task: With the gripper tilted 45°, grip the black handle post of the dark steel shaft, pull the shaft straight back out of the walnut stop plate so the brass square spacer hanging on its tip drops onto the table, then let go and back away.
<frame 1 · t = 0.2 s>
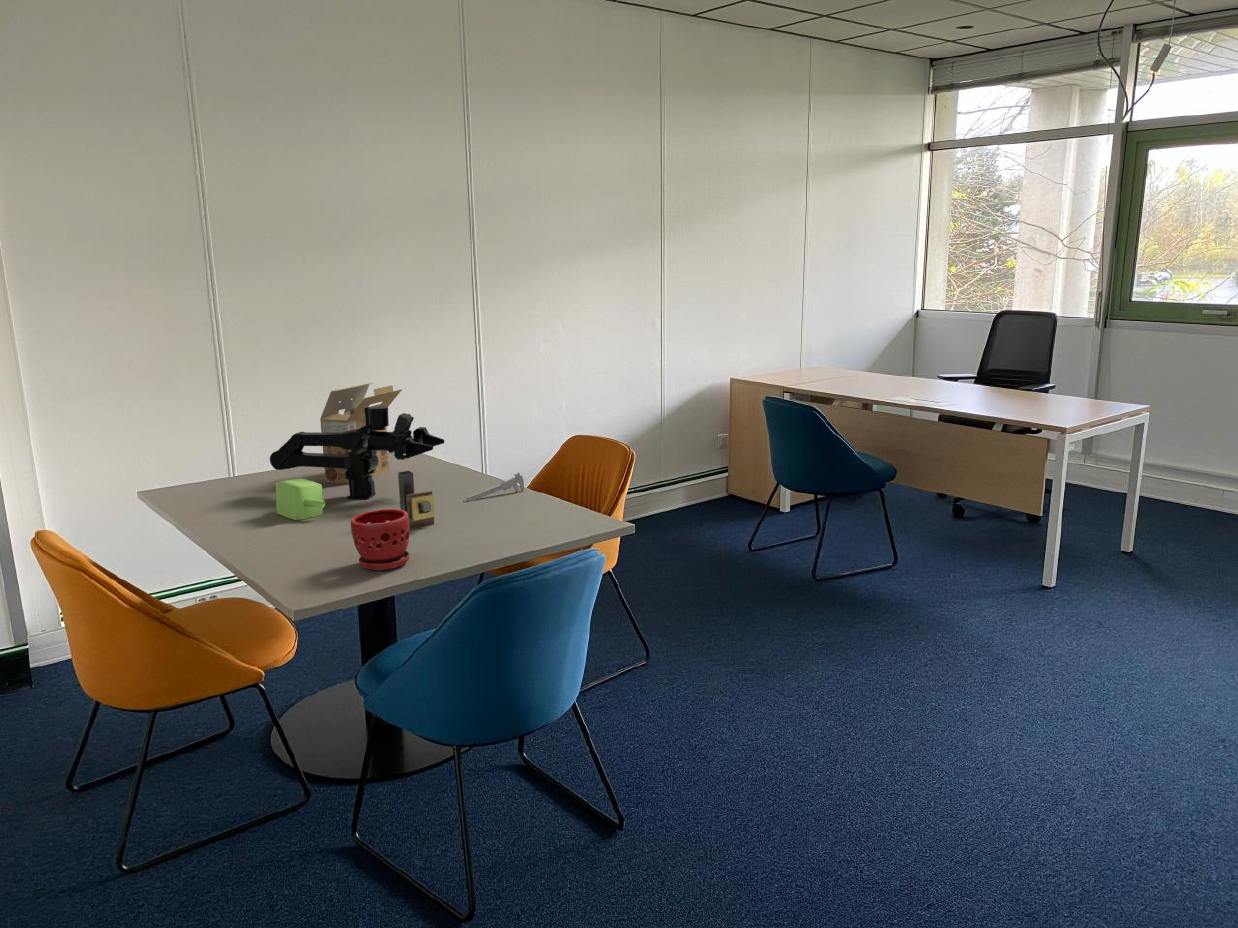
hand: (438, 444, 273), 17 cm above the table, tool horizontal, fingers open, 9 cm apart
stop plate: (408, 519, 255), on the table
gearbox: (304, 515, 262), on the table
caliper: (494, 497, 280), on the table
steel shaft: (415, 499, 250), point 7 cm above the table, slide at 0.0 cm, touching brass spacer
plant pot: (383, 565, 218), on the table
box: (364, 477, 308), on the table
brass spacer: (423, 518, 247), point 2 cm above the table, touching steel shaft
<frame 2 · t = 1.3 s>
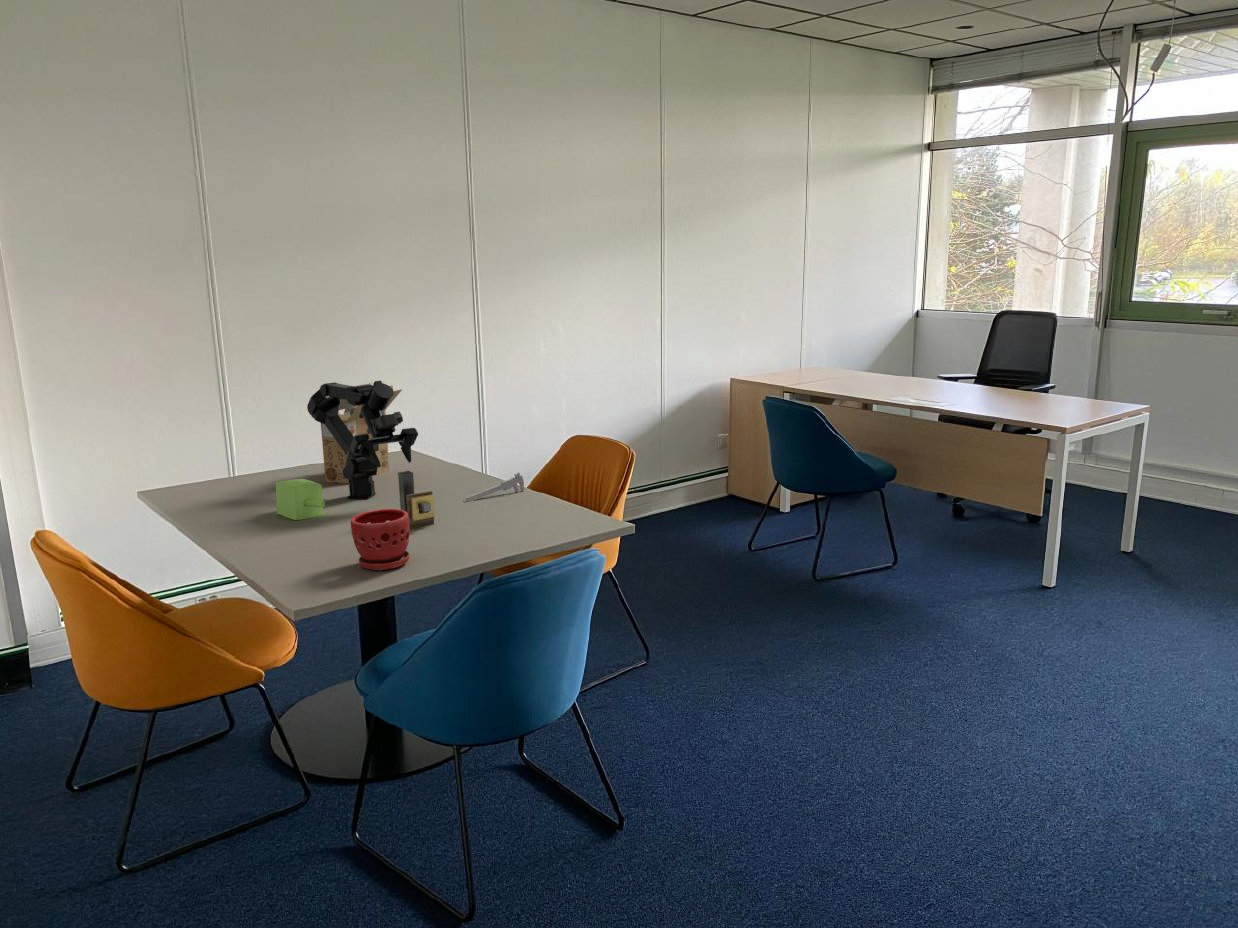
hand: (395, 464, 262), 14 cm above the table, tool tilted 45°, fingers open, 9 cm apart
nothing on the table moved.
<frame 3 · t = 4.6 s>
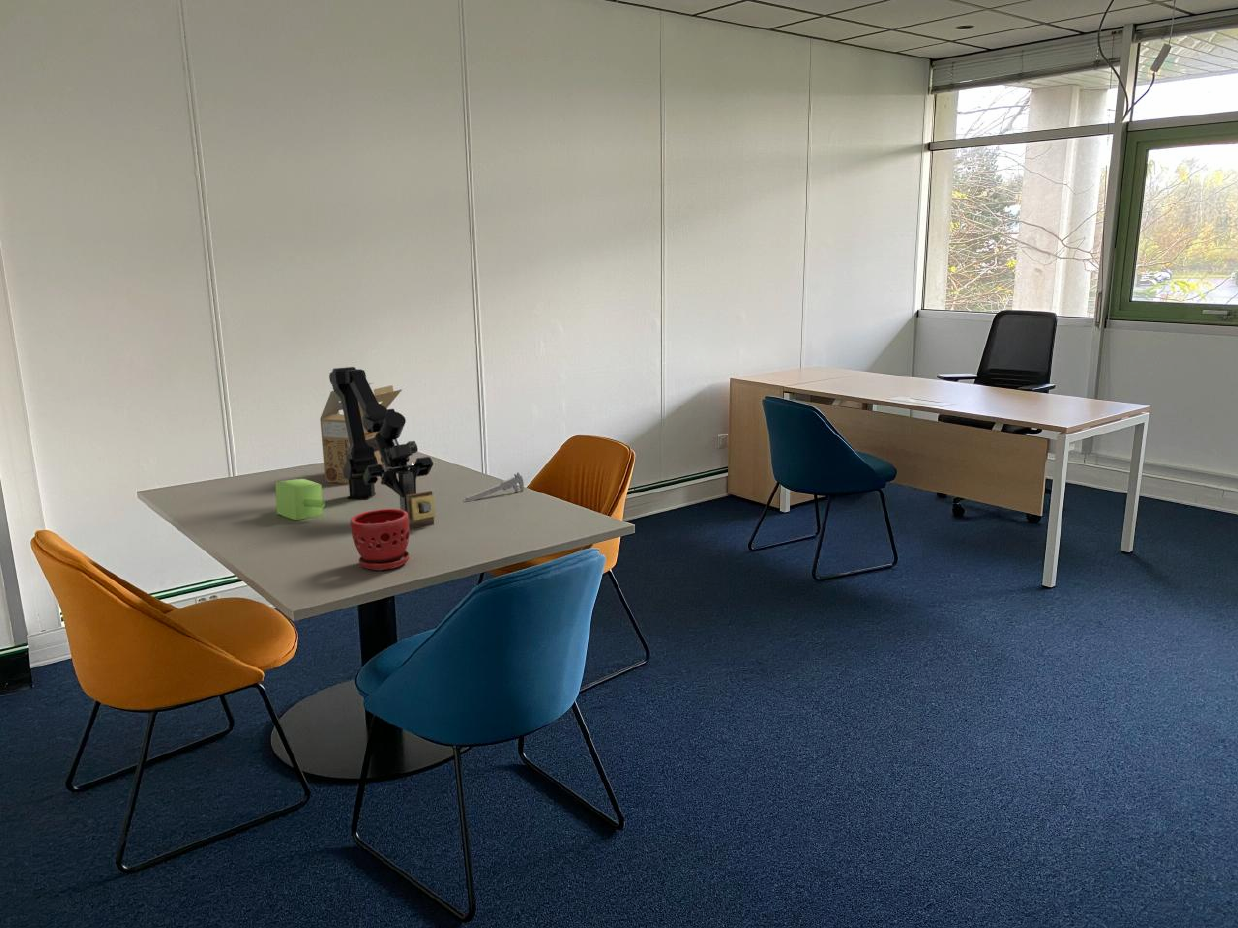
hand: (409, 495, 253), 7 cm above the table, tool tilted 45°, fingers closed on steel shaft, 3 cm apart
steel shaft: (415, 499, 250), point 7 cm above the table, slide at 0.0 cm, touching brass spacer, gripper
everything else where it was.
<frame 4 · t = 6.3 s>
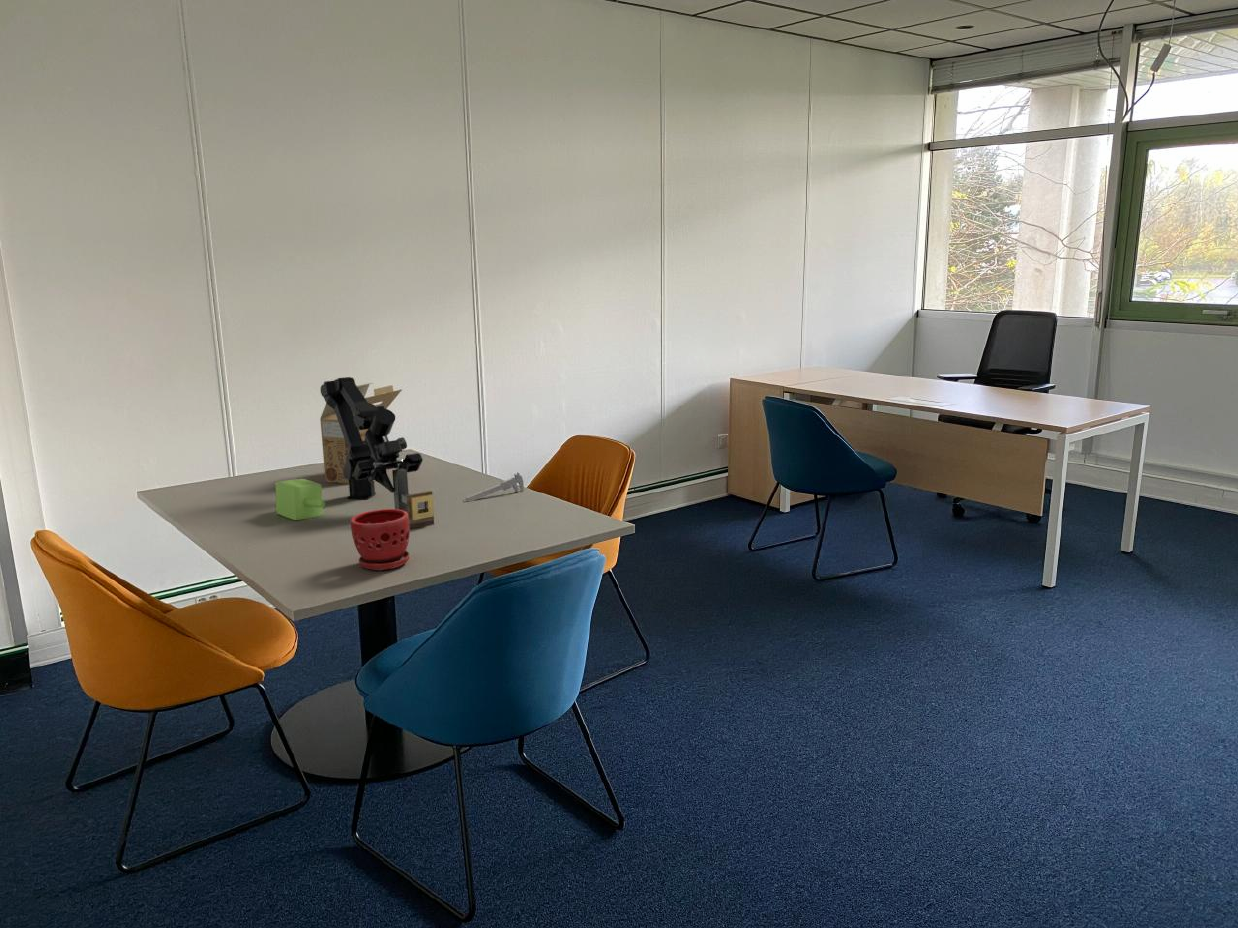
hand: (398, 490, 258), 7 cm above the table, tool tilted 45°, fingers closed on steel shaft, 3 cm apart
steel shaft: (409, 496, 253), point 7 cm above the table, slide at 3.9 cm, touching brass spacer, gripper
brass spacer: (422, 517, 248), point 2 cm above the table, touching steel shaft, stop plate
everything else where it was.
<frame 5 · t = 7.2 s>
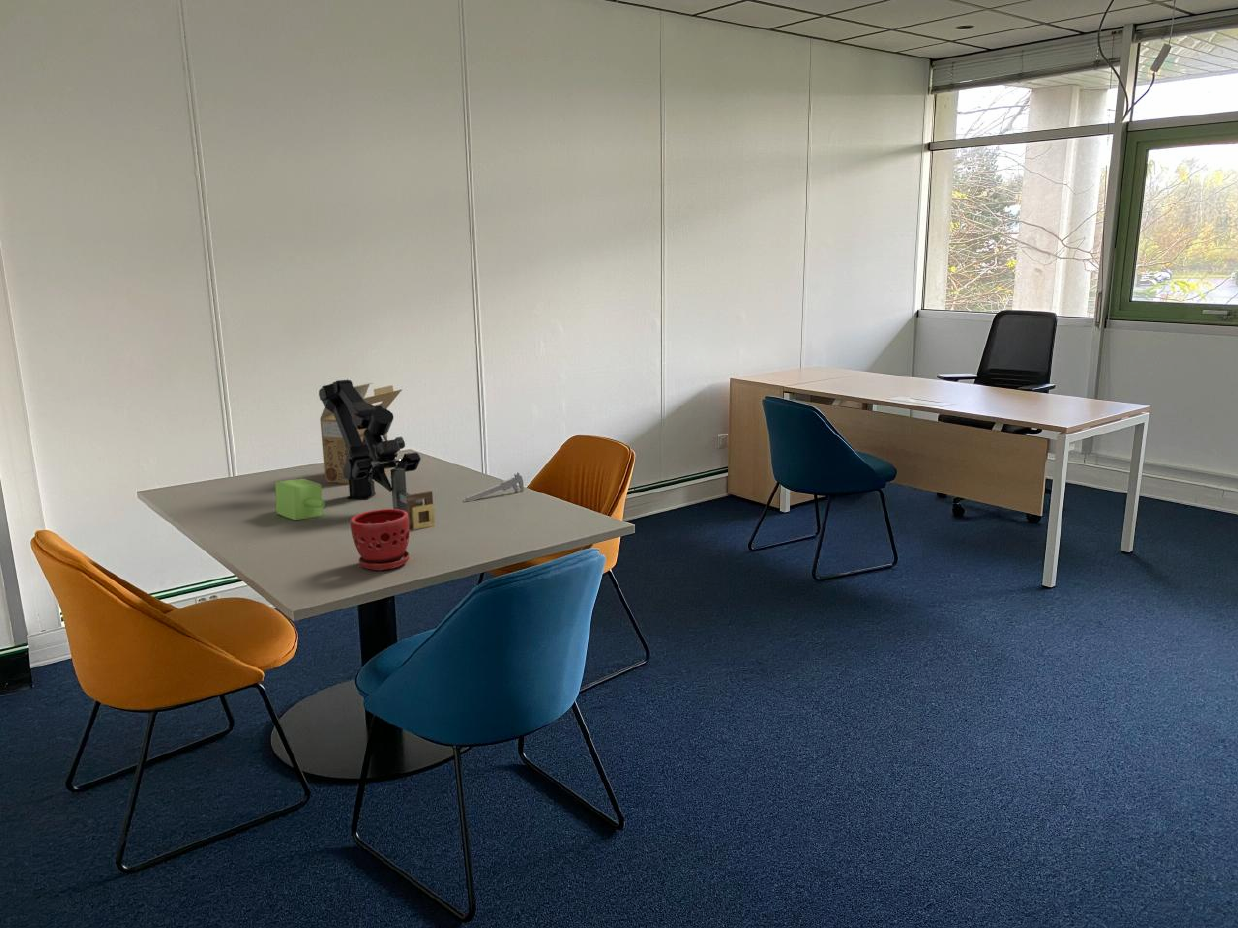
hand: (396, 490, 259), 7 cm above the table, tool tilted 45°, fingers closed on steel shaft, 3 cm apart
steel shaft: (407, 496, 254), point 7 cm above the table, slide at 5.1 cm, touching gripper
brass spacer: (423, 527, 248), on the table
everything else where it was.
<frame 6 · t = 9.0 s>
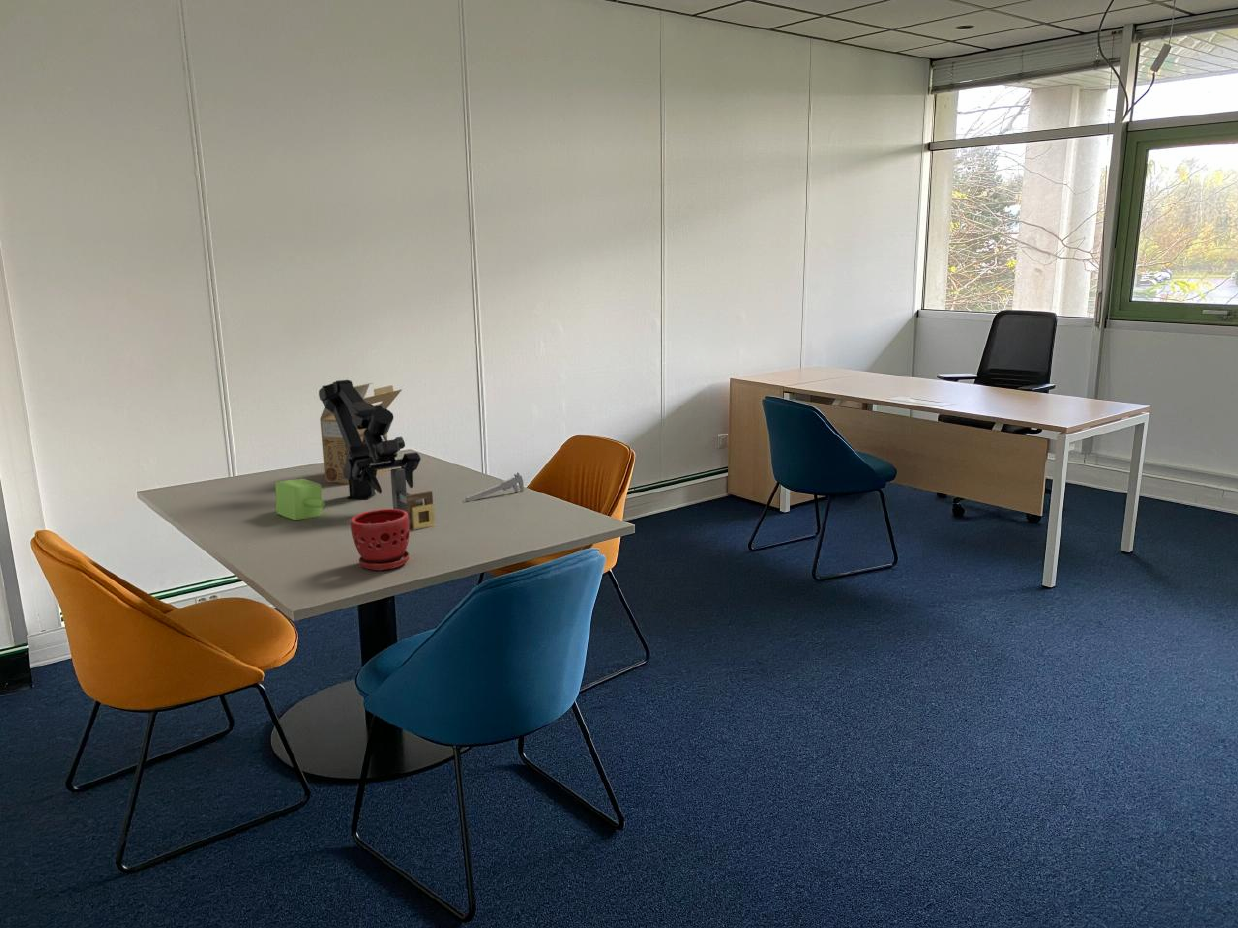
hand: (396, 490, 259), 7 cm above the table, tool tilted 45°, fingers open, 9 cm apart
steel shaft: (407, 496, 254), point 7 cm above the table, slide at 5.1 cm
everything else where it was.
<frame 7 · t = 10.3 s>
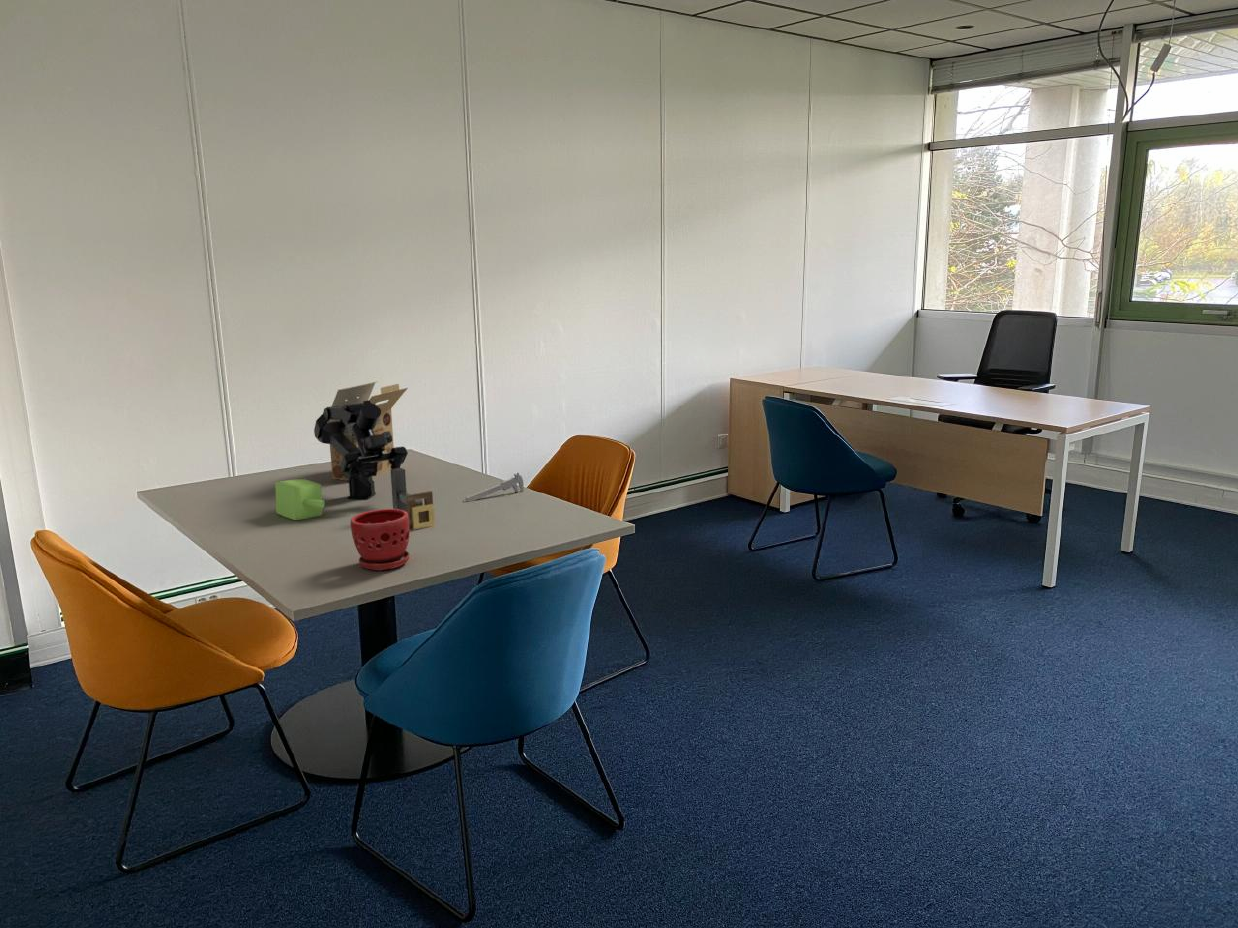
hand: (384, 483, 266), 7 cm above the table, tool tilted 45°, fingers open, 9 cm apart
box: (371, 474, 311), on the table
everything else where it was.
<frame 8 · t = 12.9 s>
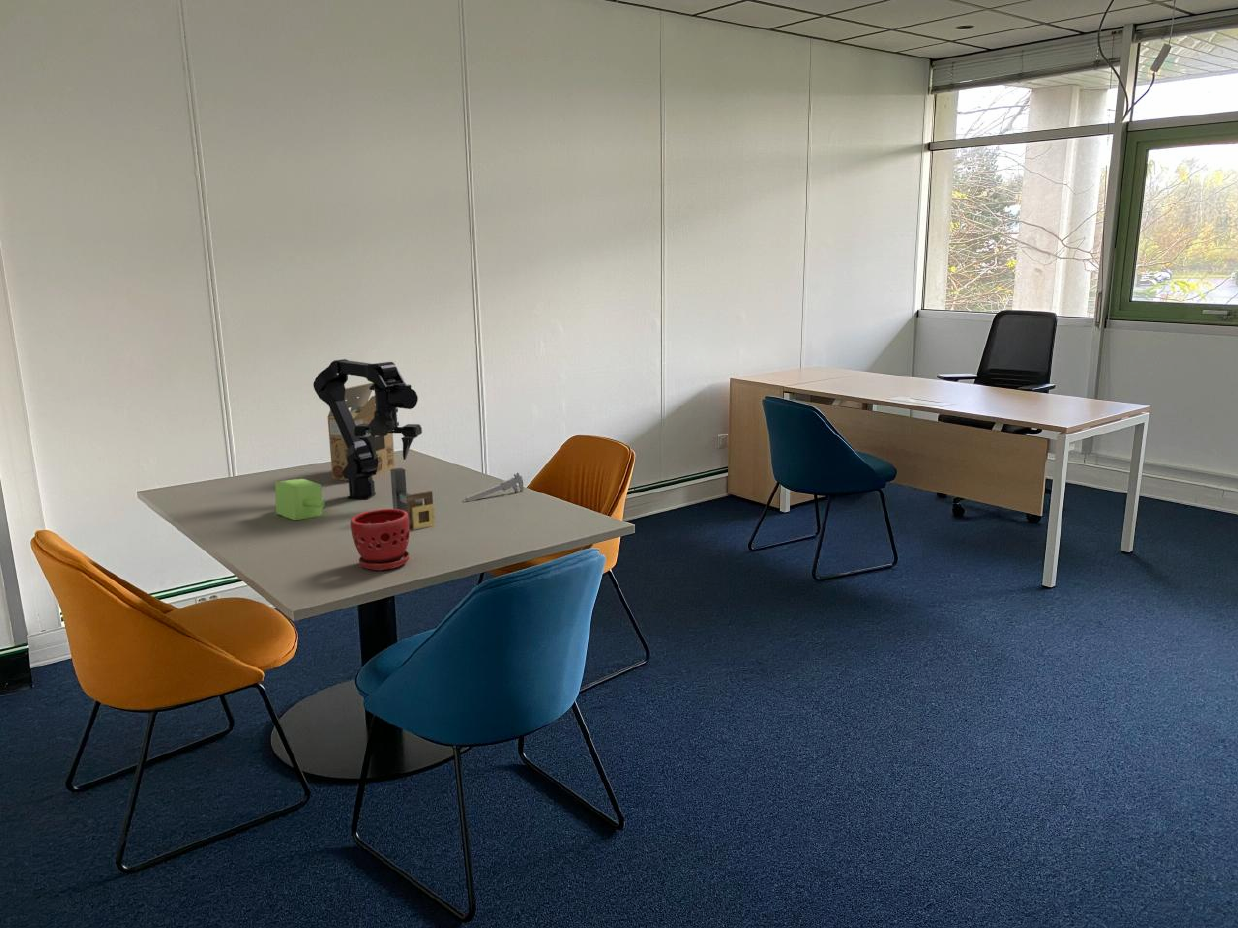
hand: (389, 459, 271), 13 cm above the table, tool pointing down, fingers open, 9 cm apart
nothing on the table moved.
at the end: steel shaft slide at 5.1 cm; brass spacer on the table; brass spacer touching table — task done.
